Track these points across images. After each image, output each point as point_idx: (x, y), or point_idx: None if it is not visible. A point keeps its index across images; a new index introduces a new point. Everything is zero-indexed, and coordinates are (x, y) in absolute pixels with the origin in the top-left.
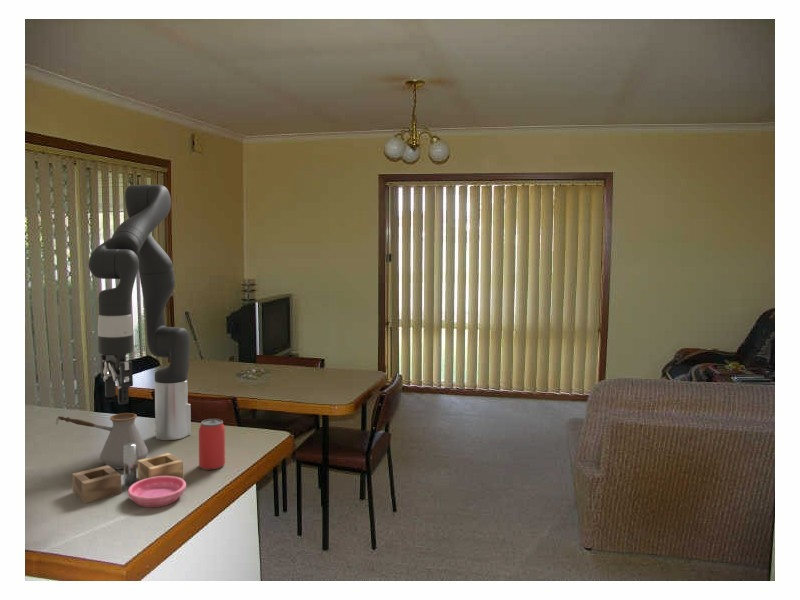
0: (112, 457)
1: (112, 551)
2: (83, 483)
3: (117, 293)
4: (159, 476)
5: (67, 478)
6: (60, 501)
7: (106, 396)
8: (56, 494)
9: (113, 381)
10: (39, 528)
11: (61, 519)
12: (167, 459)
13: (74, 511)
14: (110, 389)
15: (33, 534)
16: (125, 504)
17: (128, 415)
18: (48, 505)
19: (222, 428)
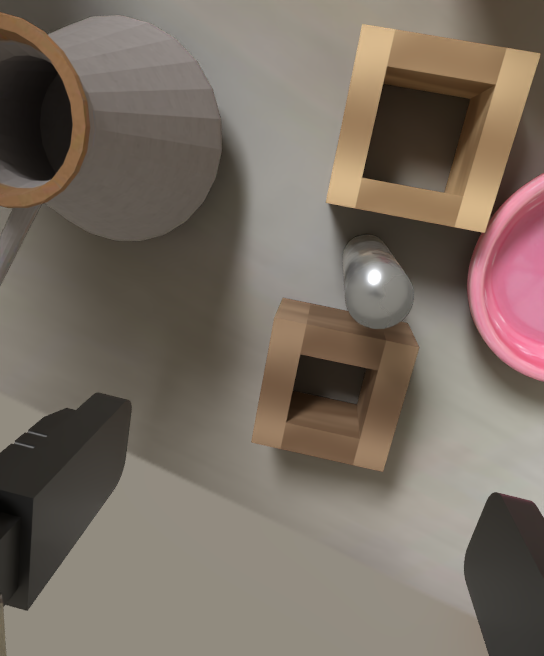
0: (165, 226)
1: None
2: (373, 468)
3: None
4: (514, 210)
5: (131, 356)
6: (299, 463)
7: (118, 481)
8: (237, 442)
9: (15, 514)
10: (425, 576)
11: (424, 523)
12: (407, 72)
13: (405, 479)
14: (87, 490)
15: (445, 599)
16: (505, 368)
17: None
18: (299, 494)
19: None
